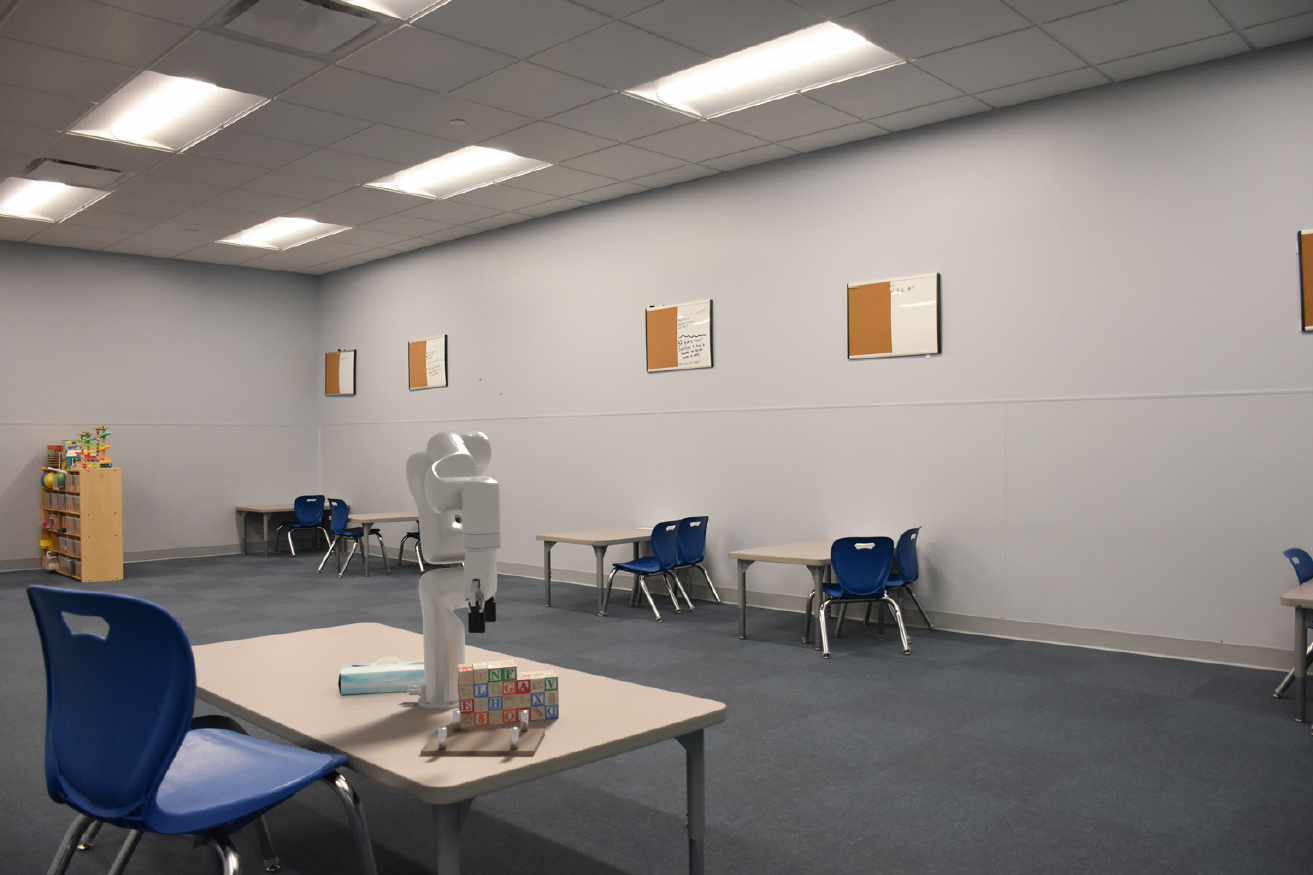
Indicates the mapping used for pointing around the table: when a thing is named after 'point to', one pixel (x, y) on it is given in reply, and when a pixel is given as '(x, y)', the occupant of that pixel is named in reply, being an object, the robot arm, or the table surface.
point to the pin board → (485, 740)
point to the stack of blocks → (505, 693)
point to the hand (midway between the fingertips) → (482, 626)
